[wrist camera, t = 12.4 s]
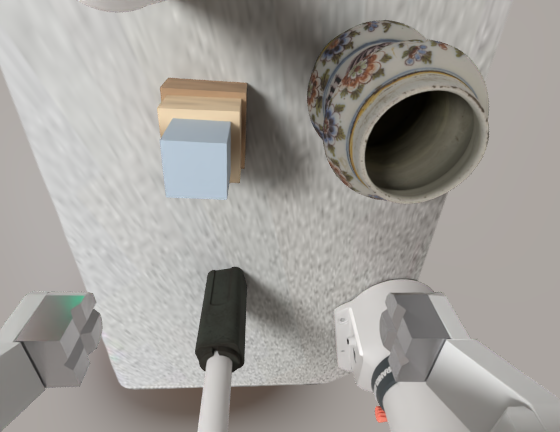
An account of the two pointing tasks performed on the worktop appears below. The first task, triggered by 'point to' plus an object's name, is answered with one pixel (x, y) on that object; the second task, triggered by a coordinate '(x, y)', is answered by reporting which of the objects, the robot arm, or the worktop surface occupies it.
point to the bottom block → (211, 90)
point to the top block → (206, 111)
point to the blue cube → (196, 158)
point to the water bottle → (118, 4)
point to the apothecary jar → (398, 112)
